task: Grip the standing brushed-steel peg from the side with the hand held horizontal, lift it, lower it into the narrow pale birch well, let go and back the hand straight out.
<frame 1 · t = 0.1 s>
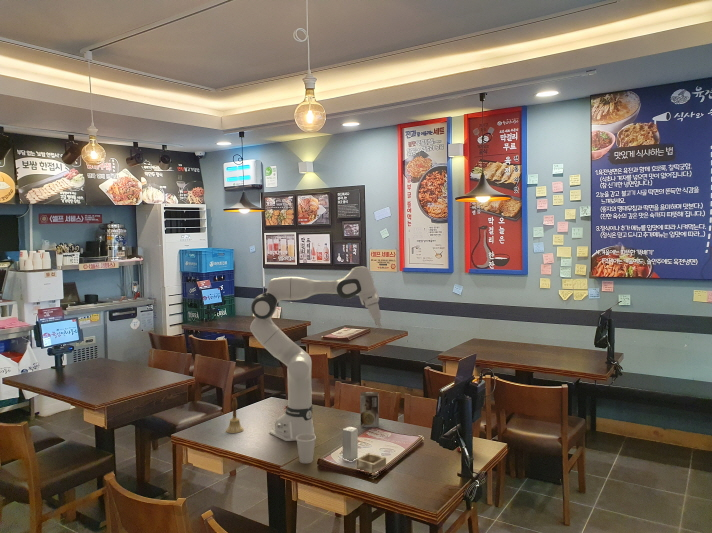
hand: (378, 326, 248), 52 cm above the table, tool tilted 20°, fingers open, 8 cm apart
peg: (350, 459, 220), on the table
dixie cup: (306, 461, 219), on the table
well: (371, 469, 210), on the table
smoothie: (463, 450, 230), on the table
hand bell: (234, 430, 254), on the table
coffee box: (369, 425, 263), on the table
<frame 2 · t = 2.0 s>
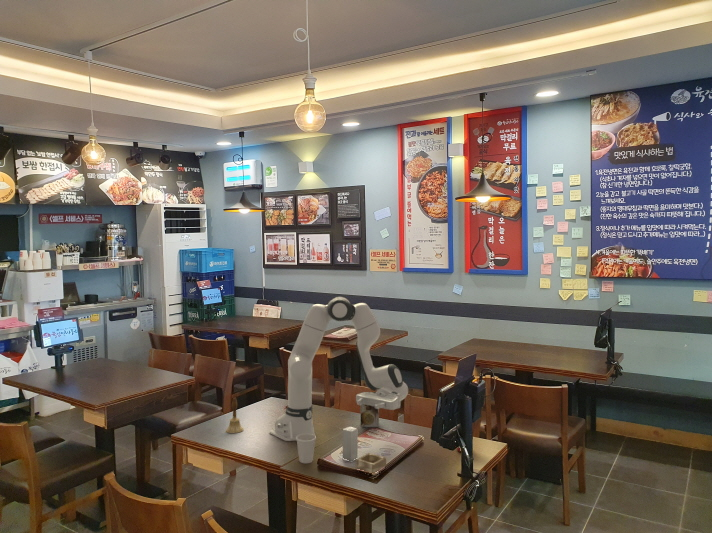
hand: (367, 405, 229), 20 cm above the table, tool horizontal, fingers open, 8 cm apart
nothing on the table moved.
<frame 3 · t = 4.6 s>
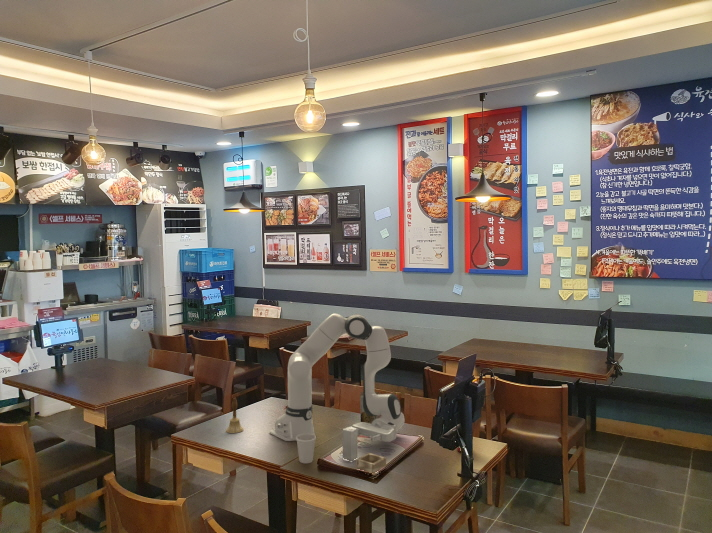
hand: (362, 436, 227), 7 cm above the table, tool horizontal, fingers open, 8 cm apart
nothing on the table moved.
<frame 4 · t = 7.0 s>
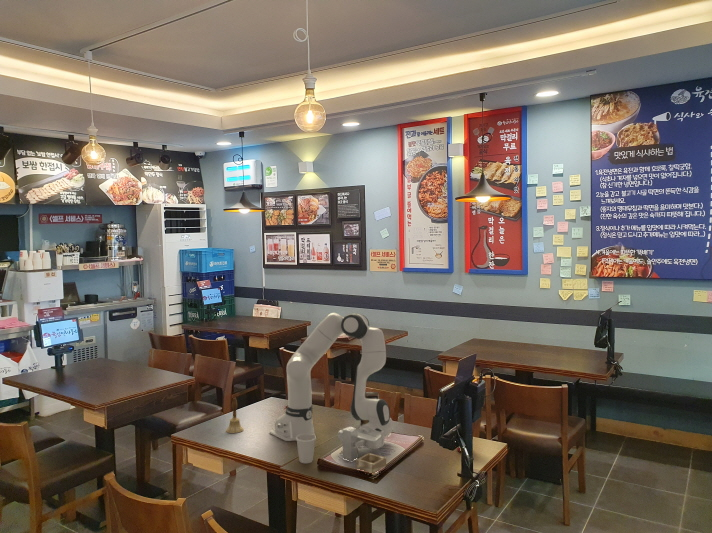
hand: (348, 443, 219), 7 cm above the table, tool horizontal, fingers closed on peg, 4 cm apart
peg: (350, 459, 220), on the table, touching gripper
everything else where it was.
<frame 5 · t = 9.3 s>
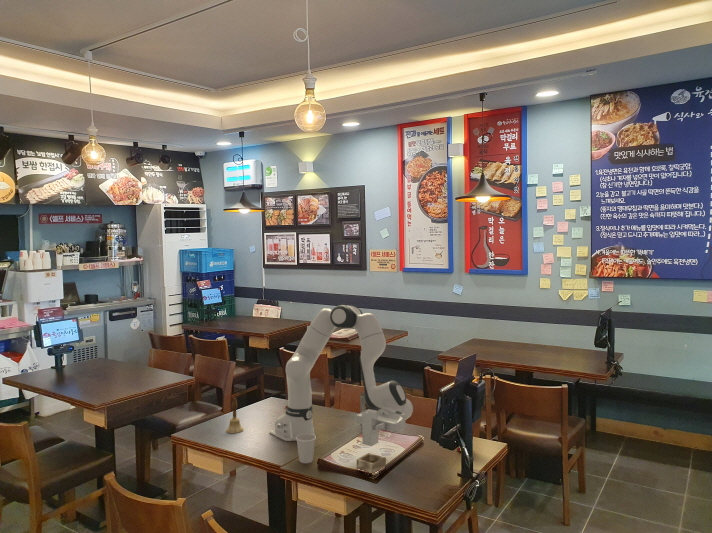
hand: (368, 426, 210), 17 cm above the table, tool horizontal, fingers closed on peg, 4 cm apart
peg: (370, 443, 211), point 10 cm above the table, touching gripper
everything else where it was.
when the fingers open (9 cm above the table, at t = 11.8 s): peg drops 1 cm, resting on well.
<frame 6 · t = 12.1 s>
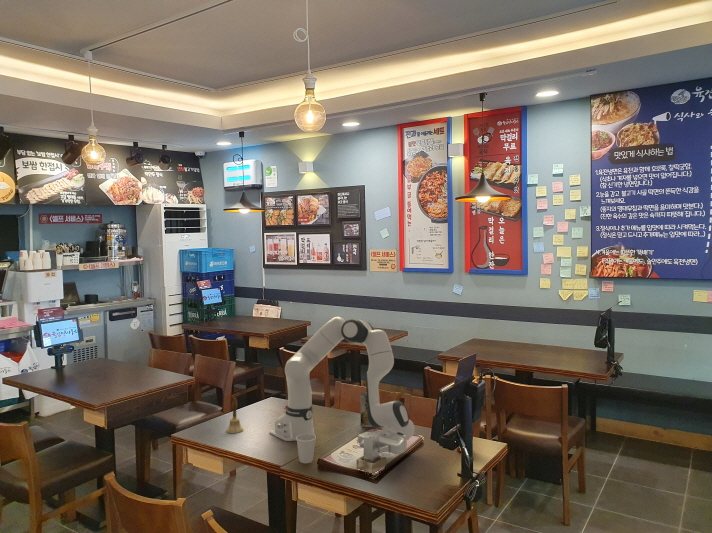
hand: (370, 448, 209), 9 cm above the table, tool horizontal, fingers open, 7 cm apart
peg: (371, 468, 210), point 1 cm above the table, touching well
everything else where it was.
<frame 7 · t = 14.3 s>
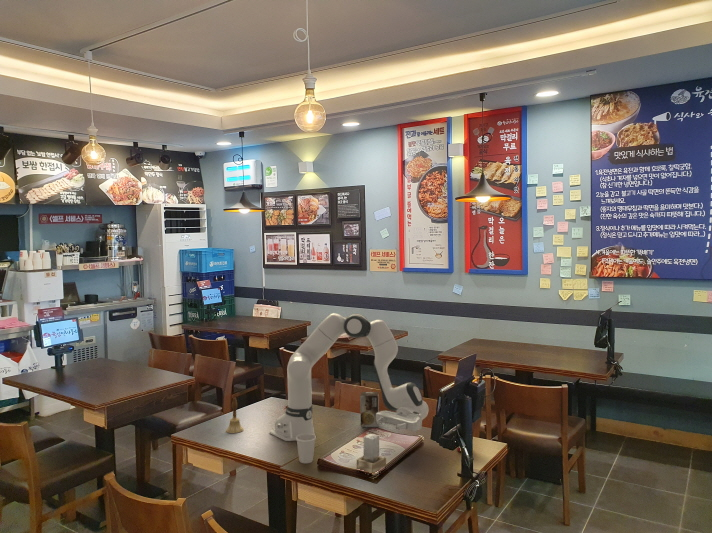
hand: (387, 424, 221), 14 cm above the table, tool horizontal, fingers open, 8 cm apart
nothing on the table moved.
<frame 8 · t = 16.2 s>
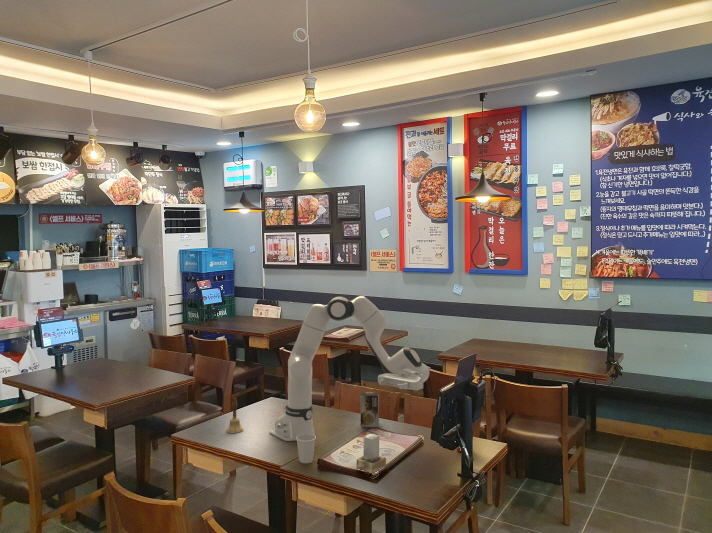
hand: (389, 385, 225), 30 cm above the table, tool horizontal, fingers open, 8 cm apart
nothing on the table moved.
at the end: peg 0.1 cm off-centre on the well, point 0.6 cm above the well's base; peg tilted 0°; the gripper is holding nothing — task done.
